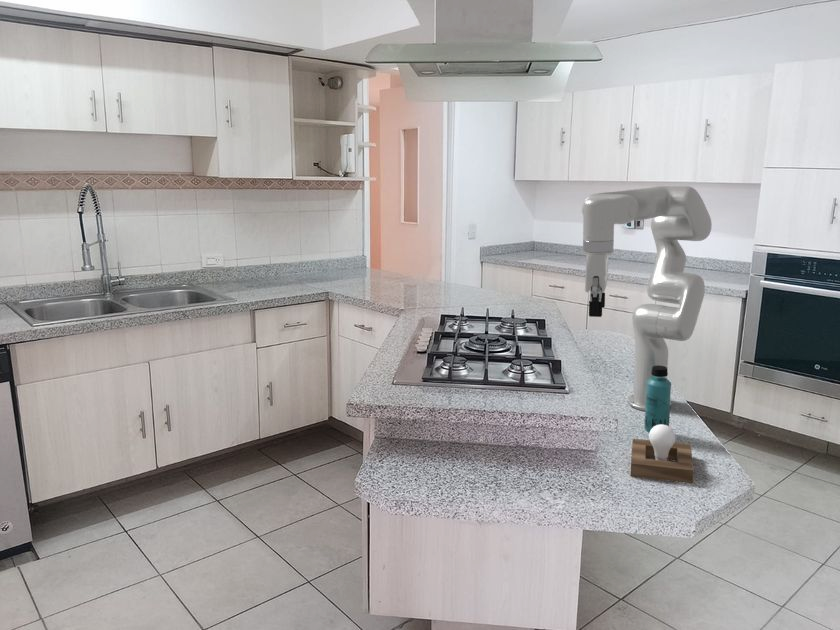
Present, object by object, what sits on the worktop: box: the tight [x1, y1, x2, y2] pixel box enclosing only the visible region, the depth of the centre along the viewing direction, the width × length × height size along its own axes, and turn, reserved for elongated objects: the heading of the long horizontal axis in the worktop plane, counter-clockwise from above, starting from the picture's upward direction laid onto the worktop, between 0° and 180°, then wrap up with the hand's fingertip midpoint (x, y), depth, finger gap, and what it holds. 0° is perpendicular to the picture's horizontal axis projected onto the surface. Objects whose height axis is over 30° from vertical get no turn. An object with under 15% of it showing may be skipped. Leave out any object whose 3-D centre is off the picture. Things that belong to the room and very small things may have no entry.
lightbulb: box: [648, 424, 676, 461], centre depth 158 cm, size 6×6×11 cm
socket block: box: [630, 438, 694, 484], centre depth 158 cm, size 14×14×4 cm
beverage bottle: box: [643, 365, 672, 434], centre depth 173 cm, size 6×7×20 cm
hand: (597, 311), depth 166 cm, fingers open, 9 cm apart
